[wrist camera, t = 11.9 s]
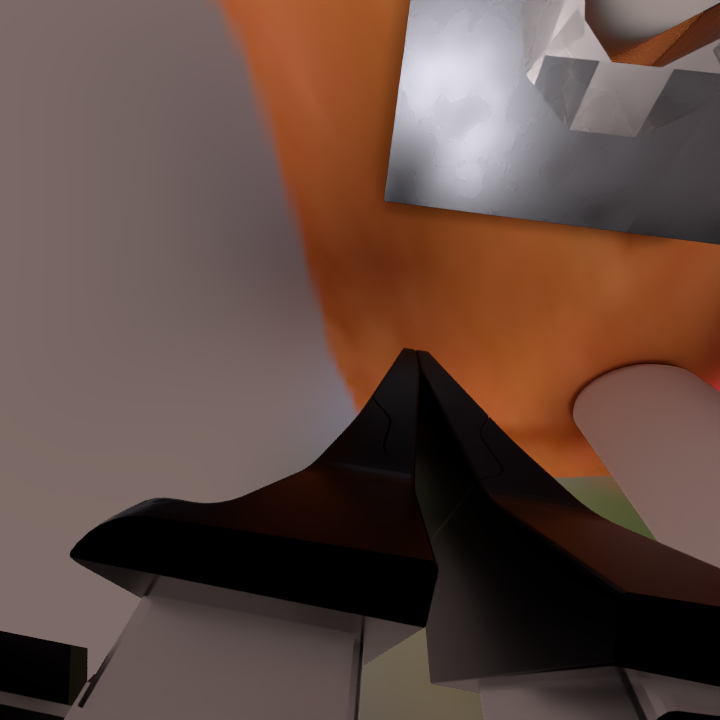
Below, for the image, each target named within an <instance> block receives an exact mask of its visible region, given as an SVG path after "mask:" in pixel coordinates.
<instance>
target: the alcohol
mask: <svg viewBox="0 0 720 720" xmlns="http://www.w3.org/2000/svg"><path fill="white" fill-rule="evenodd" d="M573 419H574V421H575V424H576V425H577V426H578V428H579V429H580V431H581V432H582V434H583V435H584V436H585V438H586V439H587V441H588V442H589V444H590V445H591V446H592V448H593V449H594V451H595V452H596V454H597V455H598V457H599V458H600V459H601V461H602V462H603V464H604V465H605V467H606V468H607V469H608V471H609V472H610V474H611V475H612V477H613V478H614V479H615V481H616V482H617V484H618V485H619V486H620V488H621V490H622V491H623V492H624V494H625V495H626V497H627V498H628V499H629V501H630V502H631V504H632V505H633V507H634V508H635V509H636V511H637V512H638V514H639V515H640V517H641V518H642V520H643V521H644V522H645V524H646V525H647V527H648V528H649V530H650V531H651V533H652V534H653V535H654V537H655V538H656V540H657V541H658V542H659V543H662V544H664V545H666V546H669V547H671V548H673V549H676V550H678V551H681V552H683V553H685V554H688V555H690V556H692V557H695V558H697V559H699V560H702V561H704V562H706V563H709V564H711V565H714V566H716V567H718V568H720V392H719V391H718V390H716V389H715V388H713V387H712V386H711V385H709V384H708V383H706V382H705V381H703V380H702V379H700V378H699V377H698V376H696V375H695V374H693V373H692V372H690V371H688V370H685V369H683V368H679V367H674V366H668V365H659V364H639V365H632V366H627V367H623V368H620V369H617V370H614V371H611V372H609V373H607V374H604V375H602V376H600V377H599V378H597V379H595V380H594V381H592V382H591V383H590V384H588V385H587V386H586V387H585V388H584V389H583V390H582V391H581V392H580V393H579V395H578V396H577V398H576V401H575V404H574V410H573Z"/></svg>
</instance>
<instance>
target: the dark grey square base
mask: <svg viewBox="0 0 720 720" xmlns="http://www.w3.org/2000/svg"><path fill="white" fill-rule="evenodd" d="M384 201H389V202H397V203H404V204H412V205H420V206H427V207H435V208H443V209H450V210H458V211H466V212H473V213H481V214H489V215H496V216H504V217H512V218H519V219H527V220H535V221H542V222H550V223H558V224H566V225H573V226H581V227H589V228H596V229H604V230H612V231H619V232H627V233H635V234H642V235H650V236H658V237H665V238H673V239H681V240H688V241H696V242H704V243H711V244H719V245H720V3H718V4H716V5H714V6H712V7H710V8H708V9H706V11H705V12H704V13H703V14H702V15H701V16H700V17H699V18H698V19H697V20H696V22H695V23H694V24H693V25H692V26H691V27H690V28H689V29H688V30H687V31H686V32H685V33H684V34H683V35H682V36H681V37H680V38H679V39H678V40H677V41H676V42H675V43H674V44H673V45H672V46H671V47H670V48H669V49H668V50H667V51H666V52H665V53H664V54H663V55H662V56H661V57H660V59H659V60H658V61H657V62H656V63H655V64H654V65H653V66H643V65H634V64H625V63H615V62H612V61H611V60H610V58H609V57H608V55H607V53H606V52H605V50H604V49H603V47H602V46H601V44H600V43H599V41H598V39H597V38H596V36H595V35H594V33H593V32H592V30H591V29H590V27H589V25H588V24H587V22H586V21H585V0H411V2H410V9H409V17H408V24H407V31H406V39H405V46H404V54H403V61H402V69H401V76H400V84H399V91H398V99H397V106H396V114H395V121H394V129H393V136H392V144H391V151H390V159H389V166H388V174H387V181H386V189H385V196H384Z"/></svg>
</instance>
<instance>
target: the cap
mask: <svg viewBox="0 0 720 720" xmlns="http://www.w3.org/2000/svg"><path fill="white" fill-rule="evenodd" d="M718 3H720V0H585V21H586V22H587V24H588V25H589V27H590V29H591V30H592V32H593V33H594V35H595V36H596V38H597V39H598V41H599V43H600V44H601V46H602V47H603V49H604V50H605V52H606V53H607V55H608V57H612V56H616V55H620V54H622V53H625V52H627V51H629V50H631V49H633V48H635V47H637V46H639V45H640V44H642V43H644V42H646V41H648V40H650V39H652V38H654V37H655V36H657V35H659V34H661V33H663V32H665V31H667V30H669V29H671V28H672V27H674V26H676V25H678V24H680V23H682V22H684V21H686V20H688V19H689V18H691V17H693V16H695V15H697V14H699V13H701V12H703V11H705V10H706V9H708V8H710V7H712V6H714V5H716V4H718Z"/></svg>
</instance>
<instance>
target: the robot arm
mask: <svg viewBox="0 0 720 720" xmlns="http://www.w3.org/2000/svg"><path fill="white" fill-rule="evenodd" d="M70 557H71V558H72V559H73V560H74V561H76V562H77V563H79V564H80V565H82V566H84V567H86V568H87V569H89V570H91V571H93V572H95V573H97V574H99V575H100V576H102V577H104V578H106V579H108V580H109V581H111V582H113V583H115V584H116V585H118V586H120V587H122V588H124V589H126V590H127V591H129V592H131V593H133V594H135V595H136V596H138V597H140V598H141V600H140V601H139V603H138V605H137V606H136V608H135V610H134V611H133V613H132V615H131V617H130V618H129V620H128V622H127V623H126V625H125V627H124V628H123V630H122V632H121V633H120V635H119V636H118V638H117V640H116V642H115V643H114V645H113V646H112V649H111V650H110V651H109V653H108V655H107V656H106V658H105V660H104V662H103V663H102V665H101V667H100V668H99V670H98V672H97V673H96V674H94V675H93V676H92V677H91V678H90V679H89V680H88V681H87V648H83V647H78V646H73V645H68V644H63V643H58V642H54V641H48V640H43V639H38V638H33V637H28V636H23V635H18V634H13V633H8V632H3V631H0V720H359V711H360V697H361V684H362V669H363V665H365V664H367V663H368V662H370V661H371V660H373V659H375V658H376V657H378V656H379V655H381V654H383V653H384V652H386V651H387V650H389V649H391V648H392V647H394V646H395V645H397V644H399V643H400V642H402V641H404V640H405V639H407V638H408V637H410V636H411V635H413V634H415V633H416V632H418V631H420V630H421V629H423V628H424V627H426V637H427V648H428V661H429V672H430V681H431V683H432V684H435V685H440V686H446V687H451V688H456V689H461V690H466V691H471V692H476V693H480V696H481V703H482V709H483V716H484V720H720V568H718V567H716V566H714V565H711V564H709V563H706V562H704V561H702V560H699V559H697V558H695V557H692V556H690V555H688V554H685V553H683V552H681V551H678V550H676V549H673V548H671V547H669V546H666V545H664V544H662V543H659V542H657V541H655V540H652V539H650V538H647V537H645V536H643V535H640V534H638V533H636V532H633V531H631V530H628V529H626V528H624V527H622V526H619V525H617V524H615V523H612V522H611V521H609V520H607V519H605V518H603V517H601V516H600V515H598V514H596V513H595V512H593V511H592V510H590V509H589V508H588V507H586V506H585V505H584V504H582V503H581V502H580V501H578V500H577V499H576V498H575V497H574V496H573V495H572V494H571V493H570V492H568V491H567V490H566V489H565V488H564V487H563V486H562V485H561V484H559V483H558V482H557V481H556V480H555V479H554V478H553V477H552V476H551V475H550V474H549V473H547V472H546V471H545V470H544V469H543V468H542V467H541V466H540V465H539V464H537V463H536V462H535V461H534V460H533V459H532V458H531V457H530V456H529V455H528V454H527V453H525V452H524V451H523V450H522V449H521V448H520V447H519V446H518V445H517V444H516V443H515V442H514V441H513V440H512V439H511V438H510V437H509V436H508V435H507V434H506V433H505V432H504V431H503V430H502V429H501V428H500V427H499V426H498V425H497V424H496V423H495V422H494V421H493V420H492V419H491V418H490V417H488V415H487V414H486V413H485V412H484V410H483V409H482V408H481V407H480V406H479V405H478V404H477V403H476V402H475V401H474V400H473V399H472V398H471V397H470V396H469V395H468V394H467V393H466V391H465V390H464V389H463V388H462V387H461V386H460V385H459V384H458V383H457V382H456V381H455V380H454V379H453V378H452V377H451V376H450V375H449V373H448V372H447V371H446V370H445V369H444V368H443V367H442V366H441V365H440V364H439V363H438V362H437V361H436V360H435V359H434V358H433V357H432V356H431V354H430V353H429V352H427V351H421V350H416V351H415V350H414V349H408V348H404V349H403V350H402V351H401V353H400V354H399V356H398V357H397V359H396V360H395V362H394V363H393V365H392V366H391V368H390V369H389V371H388V372H387V374H386V375H385V377H384V378H383V380H382V381H381V383H380V384H379V386H378V387H377V389H376V390H375V392H374V393H373V395H372V396H371V398H370V399H369V400H368V402H367V403H366V405H365V406H364V408H363V409H362V410H361V412H360V413H359V415H358V416H357V417H356V418H355V419H354V420H353V422H352V423H351V424H350V425H349V426H348V427H347V428H346V430H344V431H343V433H342V434H341V435H340V436H339V437H338V438H337V439H336V440H335V441H334V442H333V443H332V444H331V445H330V446H329V447H328V448H327V449H326V450H325V452H324V453H323V454H322V455H321V456H320V457H319V458H318V459H317V460H316V461H315V462H313V463H312V464H311V465H310V466H308V467H307V468H305V469H303V470H302V471H300V472H297V473H295V474H293V475H290V476H288V477H286V478H284V479H282V480H279V481H277V482H274V483H272V484H270V485H267V486H265V487H263V488H260V489H258V490H256V491H254V492H251V493H249V494H247V495H244V496H242V497H239V498H236V499H233V500H229V501H224V502H217V503H197V502H190V501H184V500H179V499H172V498H153V499H149V500H146V501H143V502H141V503H139V504H137V505H135V506H132V507H130V508H128V509H126V510H124V511H122V512H120V513H119V514H116V515H114V516H113V517H111V518H110V519H108V520H106V521H104V522H103V523H101V524H99V525H98V526H97V527H95V528H94V529H93V530H91V531H90V532H88V533H87V534H86V535H85V536H84V537H83V538H82V539H81V540H80V541H79V542H78V543H77V544H76V545H75V546H74V548H73V549H72V550H71V552H70Z"/></svg>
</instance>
